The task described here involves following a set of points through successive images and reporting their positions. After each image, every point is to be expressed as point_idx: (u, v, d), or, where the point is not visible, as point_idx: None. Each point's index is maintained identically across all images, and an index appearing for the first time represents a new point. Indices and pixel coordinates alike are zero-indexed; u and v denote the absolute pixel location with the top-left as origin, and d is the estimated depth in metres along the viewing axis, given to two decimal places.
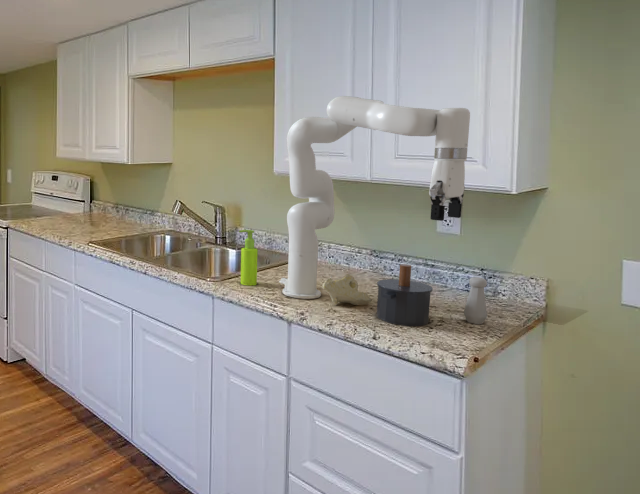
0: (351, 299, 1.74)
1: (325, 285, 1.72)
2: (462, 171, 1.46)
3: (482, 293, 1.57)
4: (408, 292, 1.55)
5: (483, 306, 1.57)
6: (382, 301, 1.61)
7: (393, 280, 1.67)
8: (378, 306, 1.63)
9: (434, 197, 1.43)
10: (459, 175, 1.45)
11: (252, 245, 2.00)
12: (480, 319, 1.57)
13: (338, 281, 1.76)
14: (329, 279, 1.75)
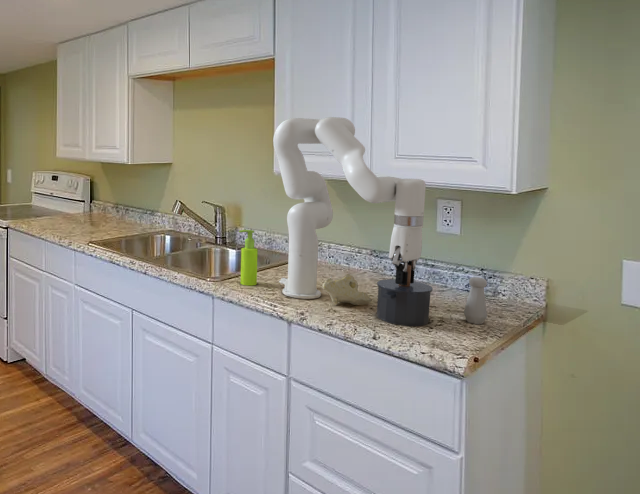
0: (351, 299, 1.74)
1: (325, 285, 1.72)
2: (419, 236, 1.59)
3: (482, 293, 1.57)
4: (408, 292, 1.55)
5: (483, 306, 1.57)
6: (382, 301, 1.61)
7: (393, 280, 1.67)
8: (378, 306, 1.63)
9: None
10: (416, 240, 1.58)
11: (252, 245, 2.00)
12: (480, 319, 1.57)
13: (338, 281, 1.76)
14: (329, 279, 1.75)
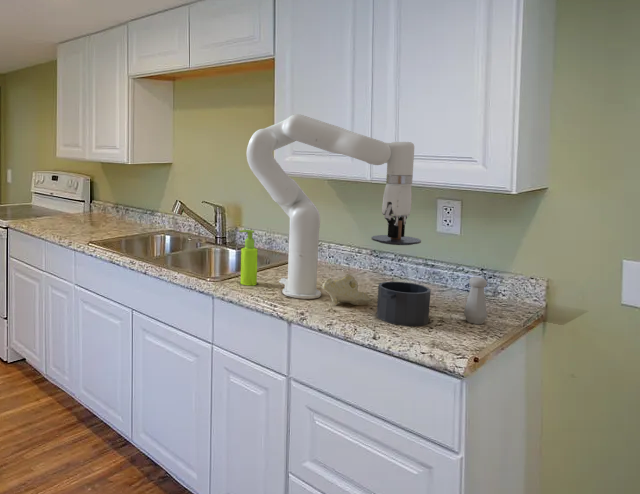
0: (351, 299, 1.74)
1: (325, 285, 1.72)
2: (409, 194, 1.76)
3: (482, 293, 1.57)
4: (399, 243, 1.72)
5: (483, 306, 1.57)
6: (382, 301, 1.61)
7: (386, 235, 1.84)
8: (378, 306, 1.63)
9: None
10: (406, 197, 1.75)
11: (252, 245, 2.00)
12: (480, 319, 1.57)
13: (338, 281, 1.76)
14: (329, 279, 1.75)
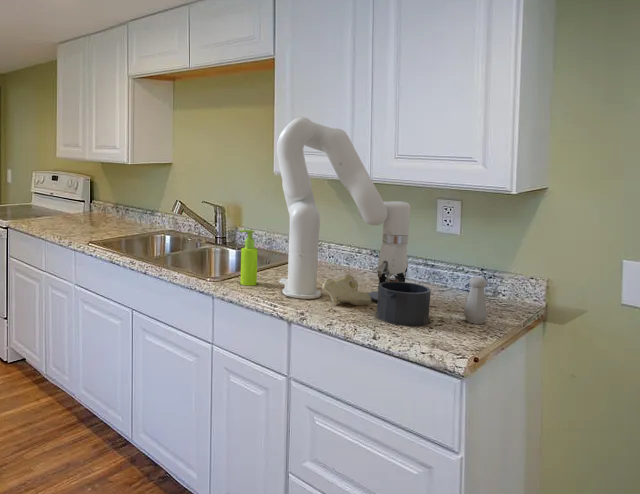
0: (351, 299, 1.74)
1: (325, 285, 1.72)
2: (404, 252, 1.79)
3: (482, 293, 1.57)
4: None
5: (483, 306, 1.57)
6: (382, 301, 1.61)
7: None
8: (378, 306, 1.63)
9: (380, 275, 1.76)
10: (402, 256, 1.78)
11: (252, 245, 2.00)
12: (480, 319, 1.57)
13: (338, 281, 1.76)
14: (329, 279, 1.75)
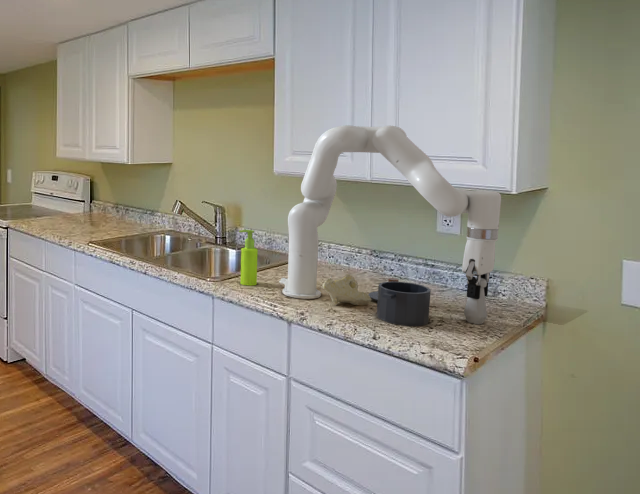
0: (351, 299, 1.74)
1: (325, 285, 1.72)
2: (493, 249, 1.56)
3: (482, 293, 1.57)
4: None
5: (483, 306, 1.57)
6: (382, 301, 1.61)
7: None
8: (378, 306, 1.63)
9: None
10: (490, 253, 1.55)
11: (252, 245, 2.00)
12: (480, 319, 1.57)
13: (338, 281, 1.76)
14: (329, 279, 1.75)
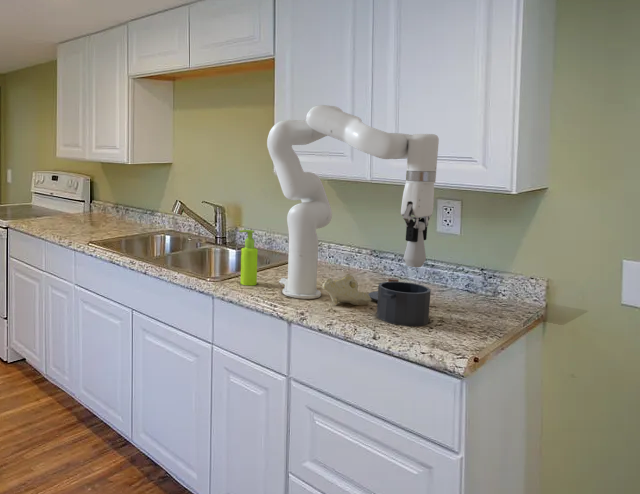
0: (351, 299, 1.74)
1: (325, 285, 1.72)
2: (431, 192, 1.57)
3: (420, 236, 1.58)
4: None
5: (421, 249, 1.57)
6: (382, 301, 1.61)
7: None
8: (378, 306, 1.63)
9: None
10: (428, 196, 1.56)
11: (252, 245, 2.00)
12: (418, 262, 1.57)
13: (338, 281, 1.76)
14: (329, 279, 1.75)
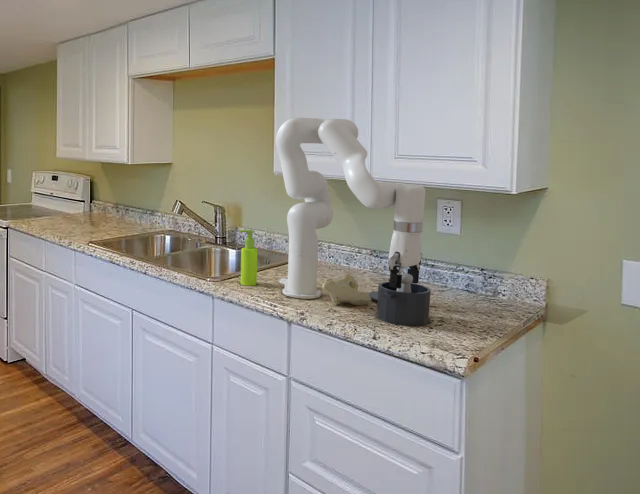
0: (351, 299, 1.74)
1: (325, 285, 1.72)
2: (418, 242, 1.59)
3: (408, 288, 1.60)
4: None
5: None
6: (382, 301, 1.61)
7: None
8: (378, 306, 1.63)
9: (392, 267, 1.56)
10: (415, 246, 1.58)
11: (252, 245, 2.00)
12: None
13: (338, 281, 1.76)
14: (329, 279, 1.75)
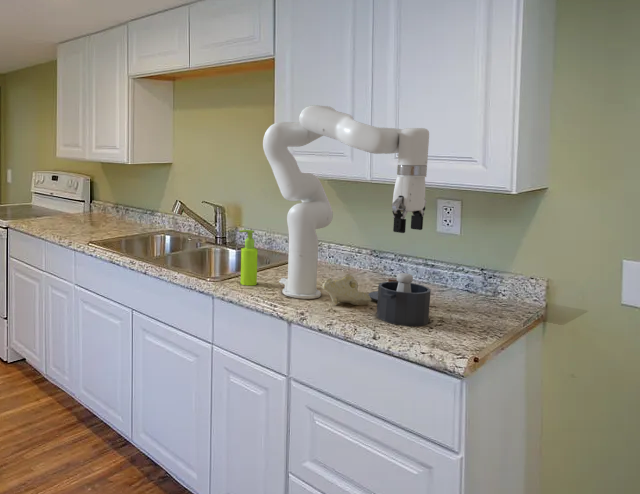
0: (351, 299, 1.74)
1: (325, 285, 1.72)
2: (422, 186, 1.57)
3: (408, 288, 1.60)
4: None
5: None
6: (382, 301, 1.61)
7: None
8: (378, 306, 1.63)
9: (396, 211, 1.54)
10: (419, 190, 1.56)
11: (252, 245, 2.00)
12: None
13: (338, 281, 1.76)
14: (329, 279, 1.75)
